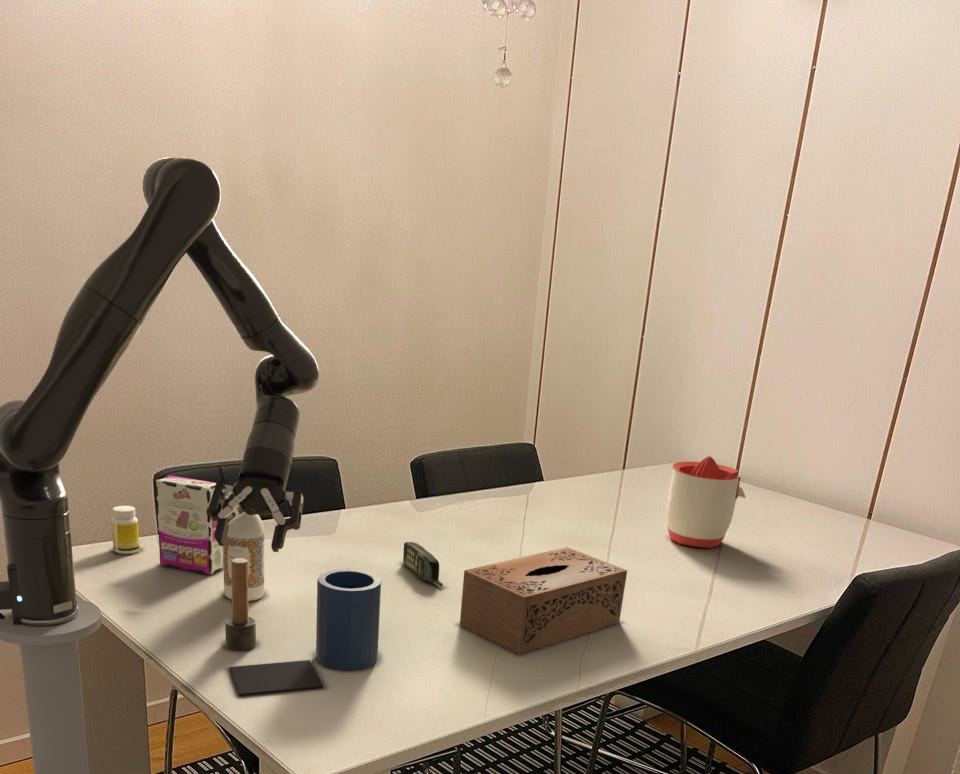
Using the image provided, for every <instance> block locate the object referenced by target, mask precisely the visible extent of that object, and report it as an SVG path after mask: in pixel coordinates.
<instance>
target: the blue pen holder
mask: <svg viewBox="0 0 960 774" xmlns="http://www.w3.org/2000/svg"><path fill="white" fill-rule="evenodd" d="M316 582H317V585H316V627H315V629H316V633H315V635H316V636H315V637H316V638H315V652H316V654H315V655H316V656H315V657H316V660H317V662H318V663H319V664H320V665H322V666H324V667H326V668H328V669H331V670H337V671H346V672H348V671H351V672H352V671H361V670H365V669H367V668H370V667H372V666H373V665H375V664H376V662H377V661H378V652H379V637H380V617H381V616H380V615H381V596H382V594H381V593H382V592H381V591H382V579H381V578H380V576H378V575H376V574H374V573H372V572H369V571H365V570H360V569H351V568H342V569H340V568H339V569H333V570H328V571H325V572H323V573H321V574H319V575H318V577H317V580H316Z"/></svg>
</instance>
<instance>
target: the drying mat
mask: <svg viewBox="0 0 960 774" xmlns="http://www.w3.org/2000/svg"><path fill="white" fill-rule="evenodd" d="M229 671H230V673H231V676H232V679H233V682H234V685H235V687H236V690H237V693H238V695H239V697H246V696H255V695H265V694H266V695H267V694H277V693H278V694H279V693H287V692H288V693H289V692H298V691H307V690H308V691H309V690H317V689H319V690H320V689H324V683H322V681H321V679H320V677H319V675H318V673H317V671H316V669H315V668H314V665H313V664H312V662H311V660H310V659H307V660H296V661H285V662H284V661H283V662H273V663H272V662H271V663H260V664H248V665H235V666H229Z"/></svg>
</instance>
